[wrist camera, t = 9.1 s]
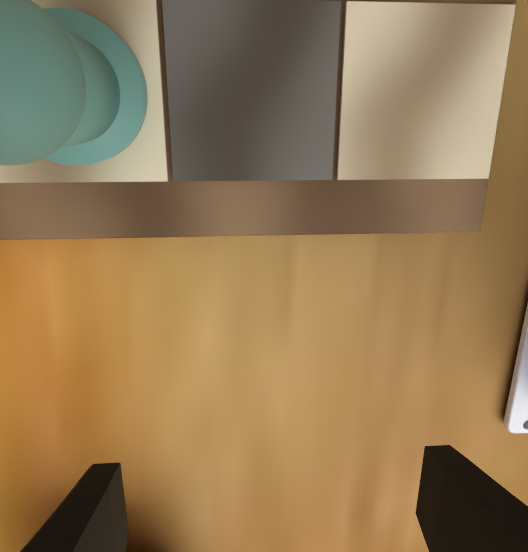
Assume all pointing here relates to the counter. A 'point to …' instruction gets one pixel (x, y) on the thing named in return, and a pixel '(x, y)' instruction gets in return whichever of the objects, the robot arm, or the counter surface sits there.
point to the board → (286, 122)
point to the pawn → (65, 87)
